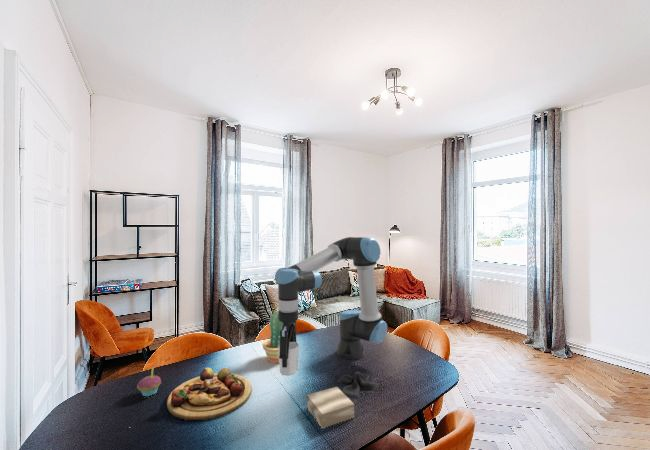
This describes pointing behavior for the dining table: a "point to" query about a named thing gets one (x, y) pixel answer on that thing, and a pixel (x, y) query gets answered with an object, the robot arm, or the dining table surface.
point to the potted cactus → (273, 338)
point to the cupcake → (149, 384)
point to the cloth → (357, 384)
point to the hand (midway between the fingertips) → (288, 369)
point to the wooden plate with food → (209, 395)
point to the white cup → (291, 357)
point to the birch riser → (330, 406)
